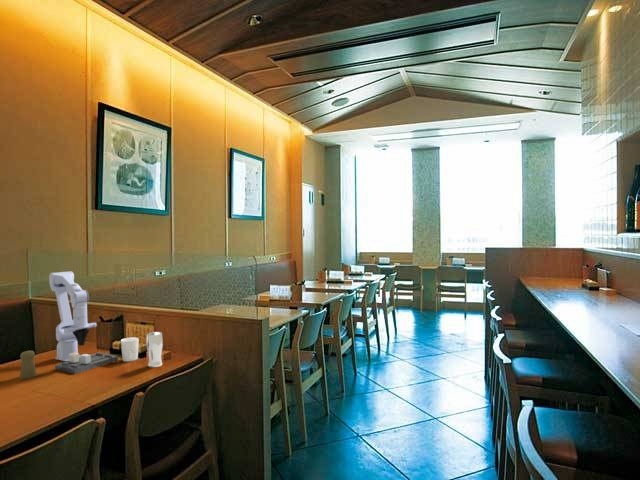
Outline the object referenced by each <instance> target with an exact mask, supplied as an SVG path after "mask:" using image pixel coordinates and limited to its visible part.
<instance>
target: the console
mask: <svg viewBox="0 0 640 480" xmlns="http://www.w3.org/2000/svg"><path fill="white" fill-rule="evenodd" d="M90 355H91V363H88V364H83V363H81V361H80V358H79V361H78V362H75V363H73V362H69V361H62V362H61V363H58V364H55V366H54V368H55V370H57V371H61V372H64V373H65V372H66V373H70V374H73V375H76V374H79V373H83V372H87V371H88V370H92V369H95V368H98V367H101V366H104V365H106V364H110V363H114V362H116V360H117V361H119V357H118V355H115V354H114V355H113V354H108V353H104V352H100V351H99V352H95V353H91V354H90ZM113 361H114V362H113Z"/></svg>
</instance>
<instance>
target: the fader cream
mask: <svg viewBox="0 0 640 480" xmlns="http://www.w3.org/2000/svg"><path fill="white" fill-rule="evenodd" d="M79 355H80V353H79V352H78V353H71V354H69V362H73V363H75V362H78V361H79Z"/></svg>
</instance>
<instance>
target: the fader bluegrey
mask: <svg viewBox="0 0 640 480" xmlns="http://www.w3.org/2000/svg"><path fill="white" fill-rule="evenodd" d="M79 355H80V361H81V363H83V364H88V363H91V354H87V353H84V354H79Z"/></svg>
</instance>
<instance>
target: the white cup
mask: <svg viewBox="0 0 640 480" xmlns="http://www.w3.org/2000/svg"><path fill="white" fill-rule="evenodd" d="M120 346H121V347H120V349H121V355H122V361H123V362H133V361H134V362H135V361H136V360H138V359H139V358H138V357H139V337H137V336H136V337H135V336H133V337H132V336H131V337H126V338H122V339H121V340H120Z"/></svg>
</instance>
